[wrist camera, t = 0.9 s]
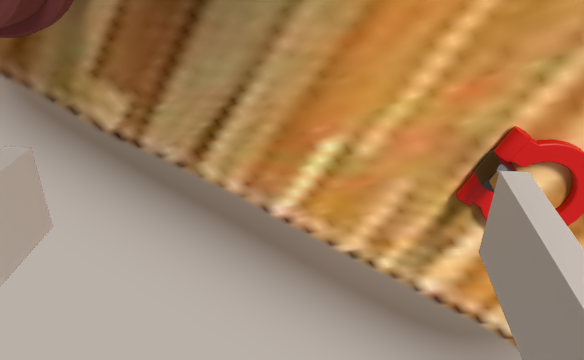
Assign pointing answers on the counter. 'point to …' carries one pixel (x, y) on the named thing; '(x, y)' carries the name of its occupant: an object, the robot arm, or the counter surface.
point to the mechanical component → (29, 15)
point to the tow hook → (523, 154)
